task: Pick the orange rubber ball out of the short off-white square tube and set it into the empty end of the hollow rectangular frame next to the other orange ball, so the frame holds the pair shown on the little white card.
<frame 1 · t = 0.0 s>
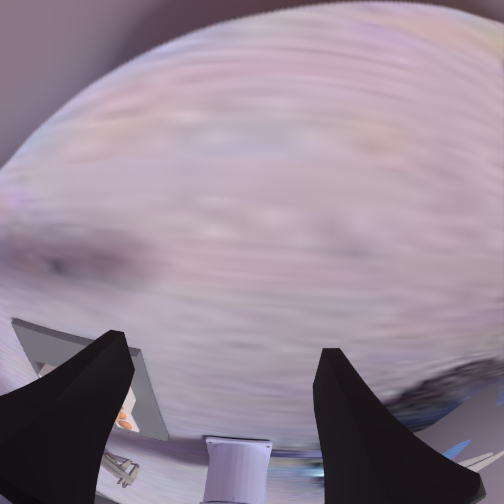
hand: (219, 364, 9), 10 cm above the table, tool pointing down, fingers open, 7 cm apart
mat: (88, 384, 26), on the table
tube a: (113, 383, 24), resting on mat
target card: (123, 417, 27), resting on mat
caliper: (92, 434, 34), on the table
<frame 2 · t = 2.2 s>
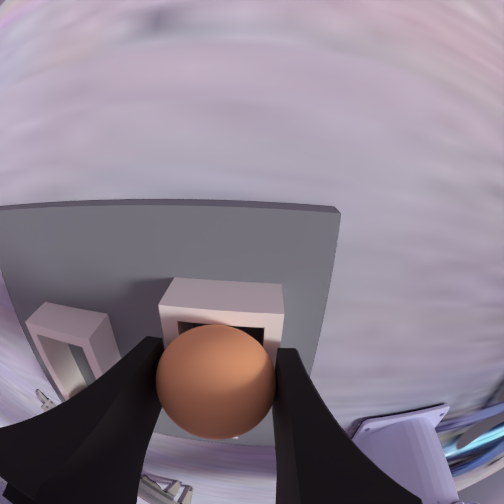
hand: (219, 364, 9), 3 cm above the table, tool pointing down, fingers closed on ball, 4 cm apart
mat: (140, 346, 14), on the table
tube a: (227, 324, 12), resting on mat
ball: (215, 382, 9), point 4 cm above the table, touching gripper, tube a
hollow rectangular frame: (98, 372, 14), resting on mat
caliper: (119, 447, 21), on the table
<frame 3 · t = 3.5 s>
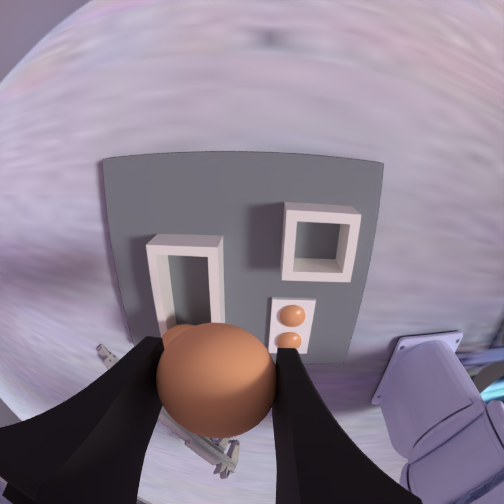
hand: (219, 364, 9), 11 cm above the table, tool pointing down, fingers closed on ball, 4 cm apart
mat: (237, 269, 20), on the table
tube a: (315, 236, 17), resting on mat
ball: (216, 381, 9), point 11 cm above the table, touching gripper
hollow rectangular frame: (193, 298, 20), resting on mat
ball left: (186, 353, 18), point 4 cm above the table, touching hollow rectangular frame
target card: (290, 326, 20), resting on mat
caliper: (174, 401, 27), on the table
when the fingers open (5 cm above the table, at t = 5.1 s): ball drops 2 cm, resting on hollow rectangular frame.
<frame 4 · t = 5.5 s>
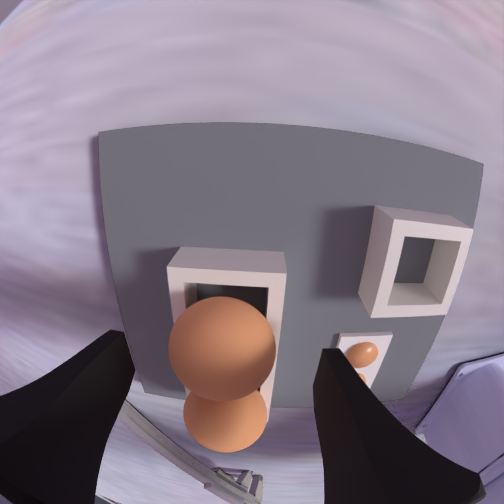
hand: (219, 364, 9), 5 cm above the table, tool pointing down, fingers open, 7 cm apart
mat: (293, 296, 14), on the table
tube a: (406, 254, 12), resting on mat
ball: (222, 349, 10), point 4 cm above the table, touching hollow rectangular frame
hollow rectangular frame: (231, 337, 14), resting on mat
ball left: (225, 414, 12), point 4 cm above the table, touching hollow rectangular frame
target card: (355, 365, 14), resting on mat
caliper: (190, 439, 21), on the table
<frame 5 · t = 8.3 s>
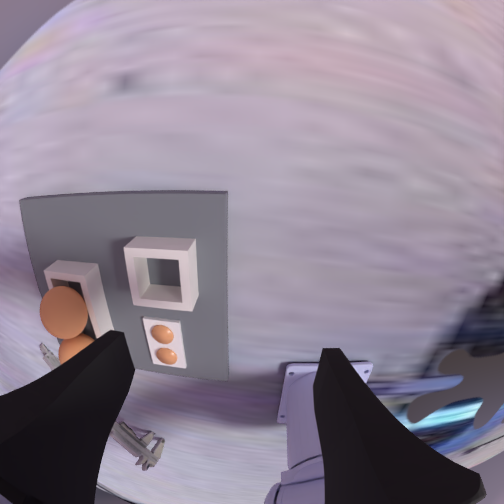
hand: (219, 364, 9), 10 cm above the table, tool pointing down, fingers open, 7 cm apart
mat: (118, 290, 21), on the table
tube a: (167, 266, 19), resting on mat
ball: (63, 312, 17), point 4 cm above the table, touching hollow rectangular frame
hollow rectangular frame: (89, 312, 21), resting on mat
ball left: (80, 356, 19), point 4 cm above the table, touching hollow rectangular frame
target card: (165, 342, 21), resting on mat
caliper: (103, 396, 28), on the table
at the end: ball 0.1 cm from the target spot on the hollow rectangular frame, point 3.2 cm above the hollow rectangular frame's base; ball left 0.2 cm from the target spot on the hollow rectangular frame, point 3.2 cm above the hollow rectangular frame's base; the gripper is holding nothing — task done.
